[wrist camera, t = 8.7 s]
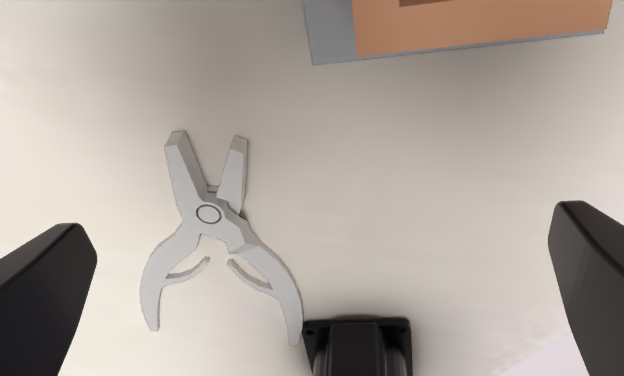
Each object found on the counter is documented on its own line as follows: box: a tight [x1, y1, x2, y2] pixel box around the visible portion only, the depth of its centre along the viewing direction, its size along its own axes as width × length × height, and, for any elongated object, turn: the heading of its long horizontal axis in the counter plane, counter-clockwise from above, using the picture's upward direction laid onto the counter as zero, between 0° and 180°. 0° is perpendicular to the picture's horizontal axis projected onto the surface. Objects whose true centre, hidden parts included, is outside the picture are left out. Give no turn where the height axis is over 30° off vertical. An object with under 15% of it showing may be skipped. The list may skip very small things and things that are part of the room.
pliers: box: [140, 131, 303, 346], centre depth 26 cm, size 10×2×15 cm
